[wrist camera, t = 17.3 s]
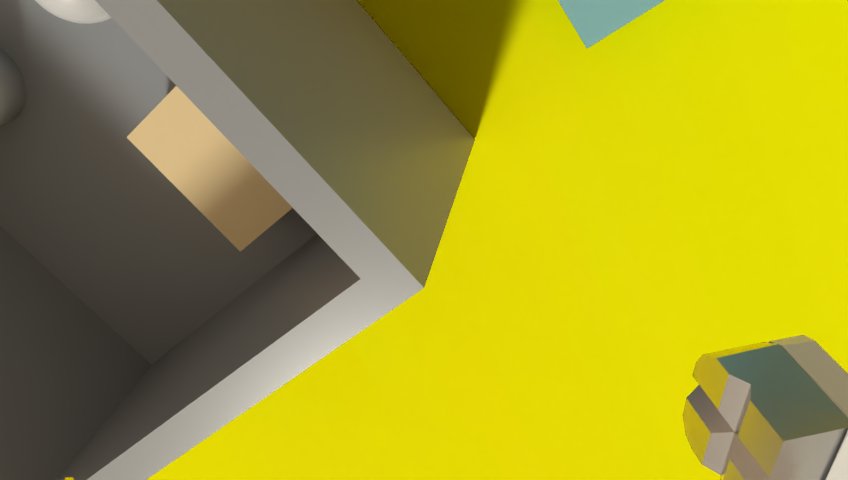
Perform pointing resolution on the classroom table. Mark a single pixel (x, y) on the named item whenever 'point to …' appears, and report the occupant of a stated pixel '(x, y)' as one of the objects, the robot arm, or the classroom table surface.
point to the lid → (603, 16)
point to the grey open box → (198, 214)
